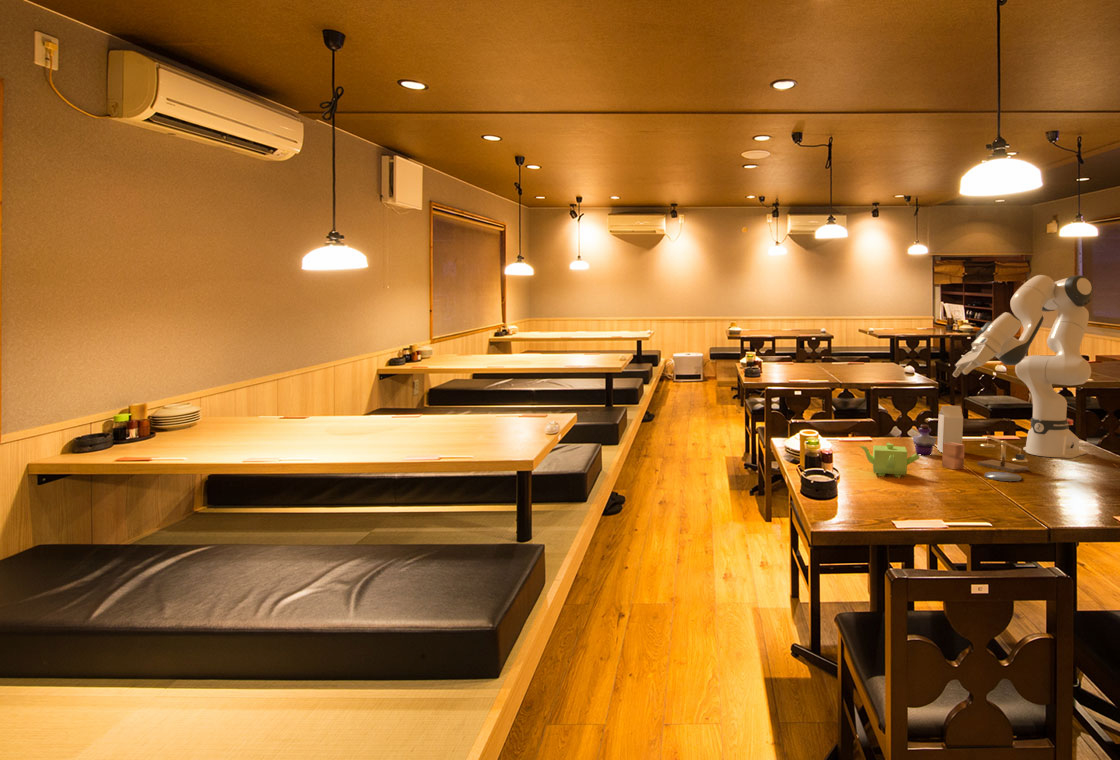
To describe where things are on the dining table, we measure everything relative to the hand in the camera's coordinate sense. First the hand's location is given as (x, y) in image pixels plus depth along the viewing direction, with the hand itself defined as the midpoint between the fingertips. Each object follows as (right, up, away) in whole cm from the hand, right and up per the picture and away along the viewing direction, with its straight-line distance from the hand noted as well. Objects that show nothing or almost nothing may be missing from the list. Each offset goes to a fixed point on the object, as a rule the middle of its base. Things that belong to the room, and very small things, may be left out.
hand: (959, 374), depth 276 cm
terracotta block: (-6, -35, -6) cm, 36 cm away
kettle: (-33, -36, -13) cm, 51 cm away
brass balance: (+12, -34, -7) cm, 37 cm away
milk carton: (+7, -32, +20) cm, 38 cm away
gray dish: (+4, -36, -21) cm, 42 cm away
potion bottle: (-5, -32, +17) cm, 37 cm away
